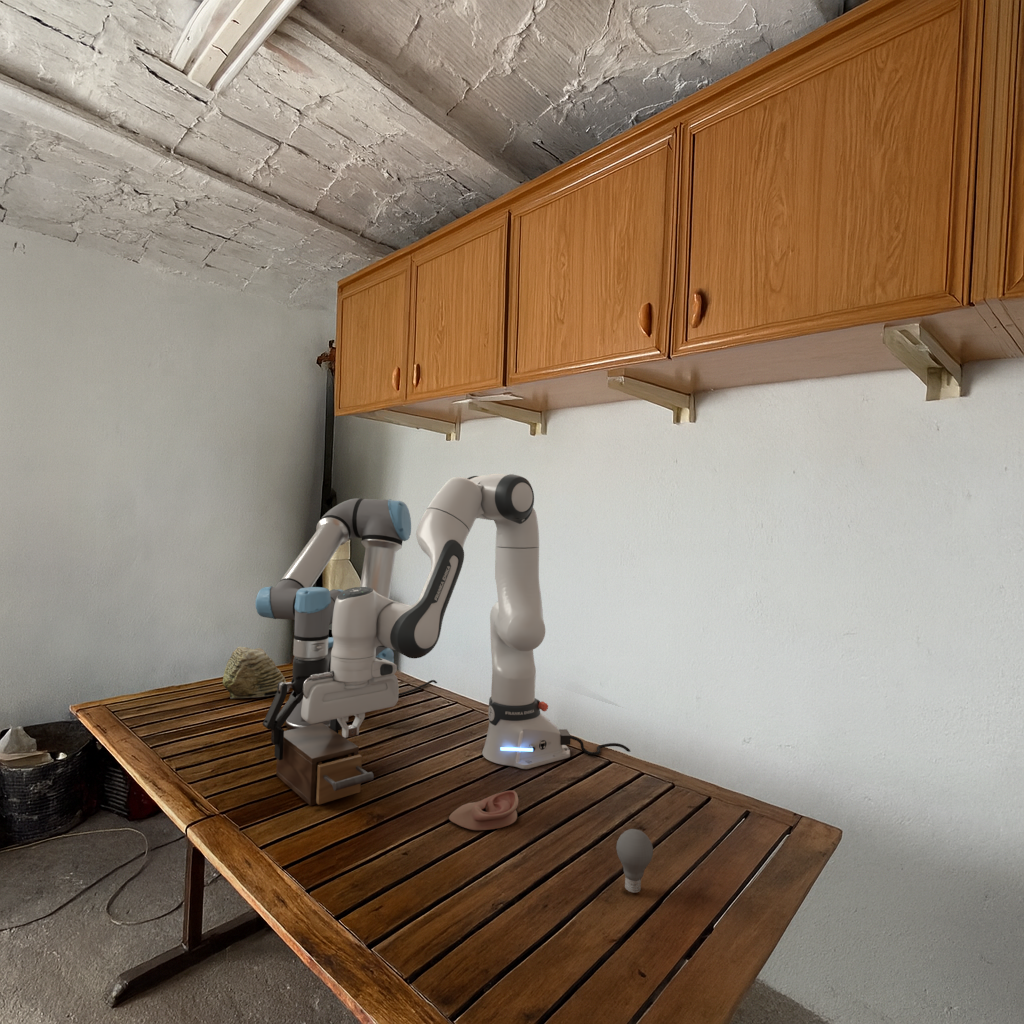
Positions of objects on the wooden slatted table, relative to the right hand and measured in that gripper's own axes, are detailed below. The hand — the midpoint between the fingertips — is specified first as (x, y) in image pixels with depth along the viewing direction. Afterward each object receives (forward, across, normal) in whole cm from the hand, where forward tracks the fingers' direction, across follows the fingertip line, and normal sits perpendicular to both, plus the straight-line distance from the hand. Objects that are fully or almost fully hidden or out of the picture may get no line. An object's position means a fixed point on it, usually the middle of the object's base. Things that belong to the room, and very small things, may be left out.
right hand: (350, 735), depth 129 cm
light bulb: (+15, +24, -53) cm, 61 cm away
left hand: (+10, 0, +20) cm, 22 cm away
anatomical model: (+15, +20, -20) cm, 32 cm away
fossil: (+15, +11, +83) cm, 85 cm away
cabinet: (+15, 0, +15) cm, 21 cm away
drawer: (+14, 0, +8) cm, 16 cm away
